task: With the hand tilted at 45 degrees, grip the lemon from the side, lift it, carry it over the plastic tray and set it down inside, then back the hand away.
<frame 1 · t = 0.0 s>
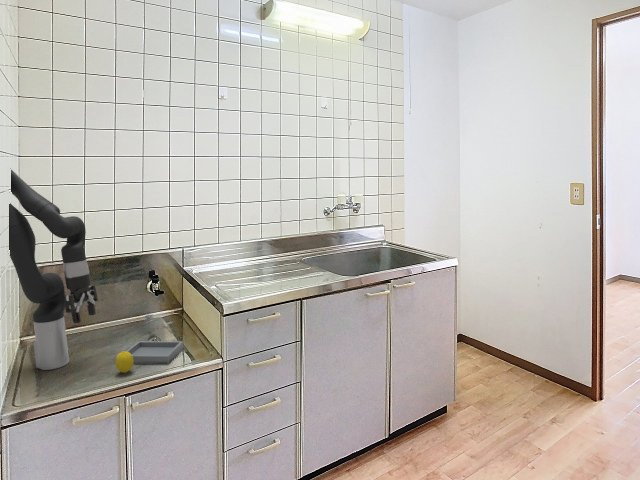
hand: (85, 318, 149), 17 cm above the counter, tool pointing down, fingers open, 8 cm apart
lemon: (125, 373, 144), on the counter
tray: (153, 356, 158), on the counter
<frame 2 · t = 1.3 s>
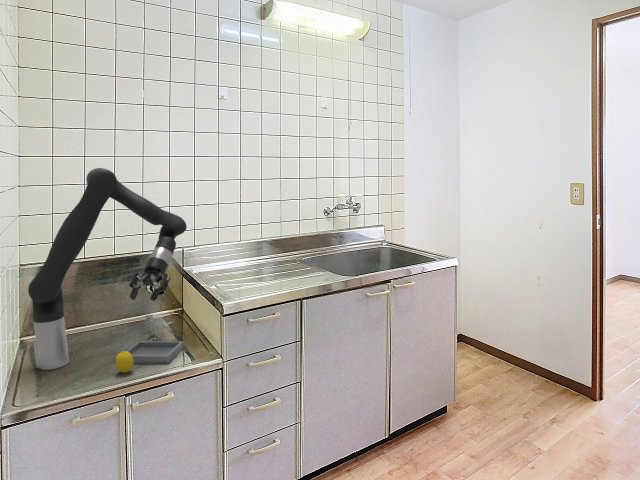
hand: (142, 299, 152), 23 cm above the counter, tool tilted 45°, fingers open, 8 cm apart
nothing on the counter moved.
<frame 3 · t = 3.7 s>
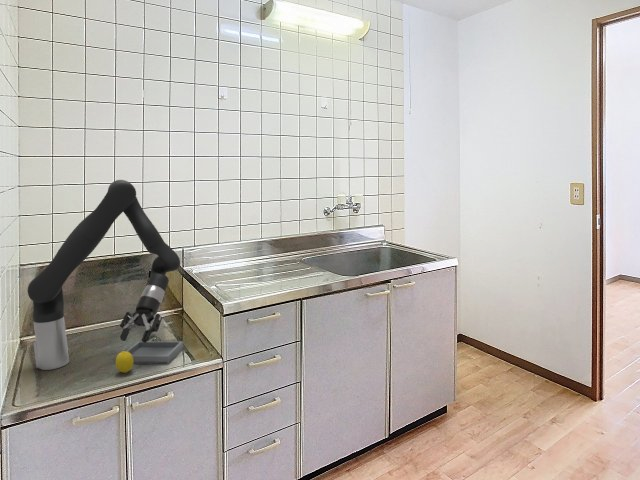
hand: (133, 341, 148), 10 cm above the counter, tool tilted 45°, fingers open, 8 cm apart
nothing on the counter moved.
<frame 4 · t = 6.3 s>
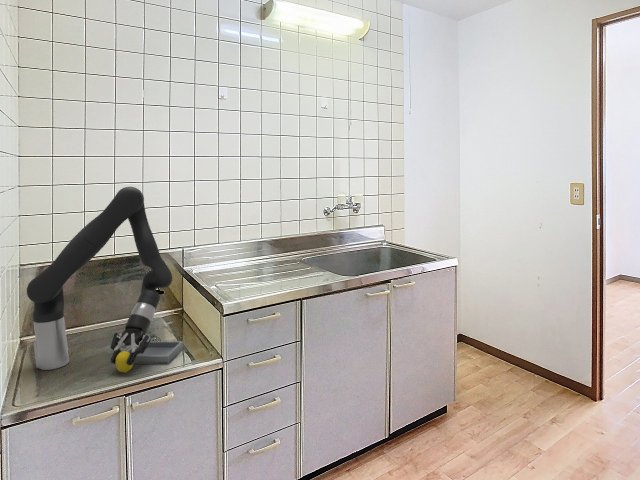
hand: (120, 363, 142), 4 cm above the counter, tool tilted 45°, fingers closed on lemon, 5 cm apart
lemon: (125, 373, 144), on the counter, touching gripper
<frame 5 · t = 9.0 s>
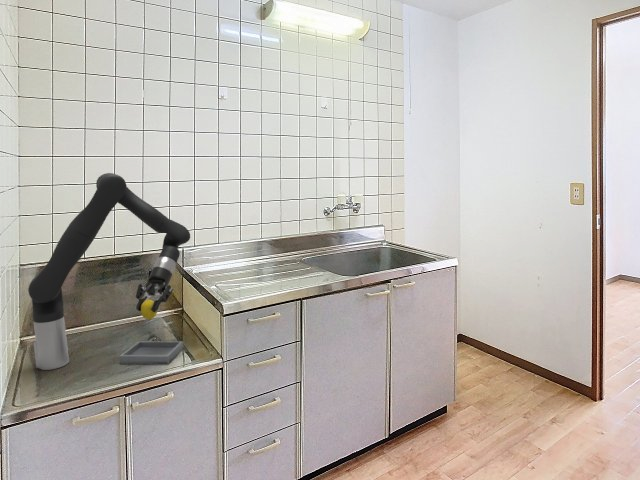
hand: (145, 310, 153), 18 cm above the counter, tool tilted 45°, fingers closed on lemon, 5 cm apart
lemon: (150, 320, 156), point 14 cm above the counter, touching gripper
when the fingers open (7 cm above the counter, at t = 12.1 s): lemon drops 1 cm, resting on tray.
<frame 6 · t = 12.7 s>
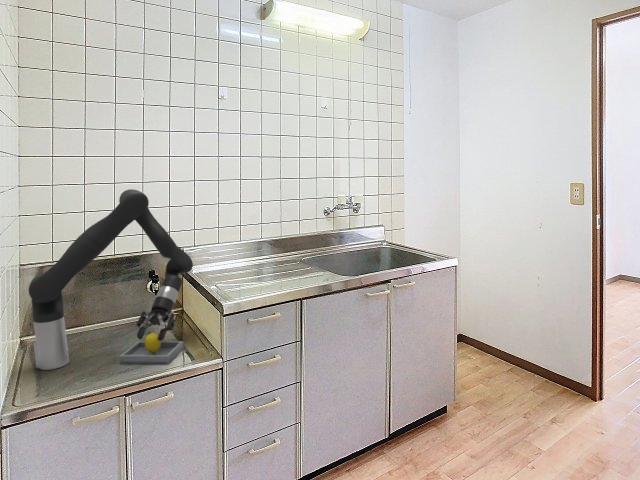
hand: (149, 339, 156), 7 cm above the counter, tool tilted 45°, fingers open, 8 cm apart
lemon: (153, 353, 158), point 1 cm above the counter, touching tray
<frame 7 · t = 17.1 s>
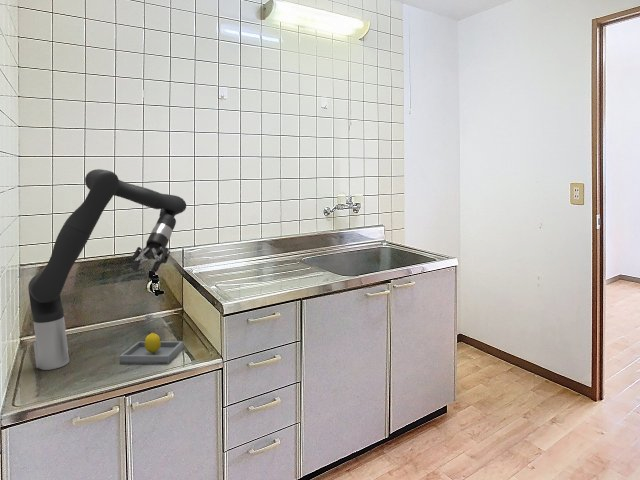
hand: (143, 270, 163), 31 cm above the counter, tool tilted 45°, fingers open, 8 cm apart
nothing on the counter moved.
at the end: lemon inside the target area on the tray (0.2 cm from its centre), point 0.8 cm above the tray's base; the gripper is holding nothing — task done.
